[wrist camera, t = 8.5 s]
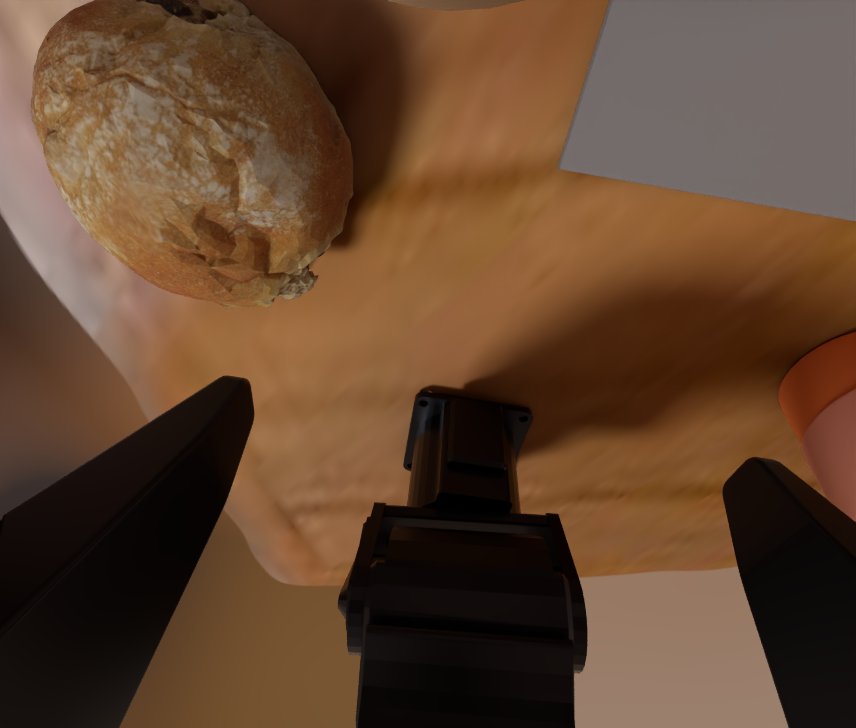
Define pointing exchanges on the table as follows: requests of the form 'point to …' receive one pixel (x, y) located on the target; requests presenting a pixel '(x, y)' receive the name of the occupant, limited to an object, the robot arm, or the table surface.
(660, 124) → the mat
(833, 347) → the cup with straw
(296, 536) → the table surface
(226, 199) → the bread roll
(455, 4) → the lid
